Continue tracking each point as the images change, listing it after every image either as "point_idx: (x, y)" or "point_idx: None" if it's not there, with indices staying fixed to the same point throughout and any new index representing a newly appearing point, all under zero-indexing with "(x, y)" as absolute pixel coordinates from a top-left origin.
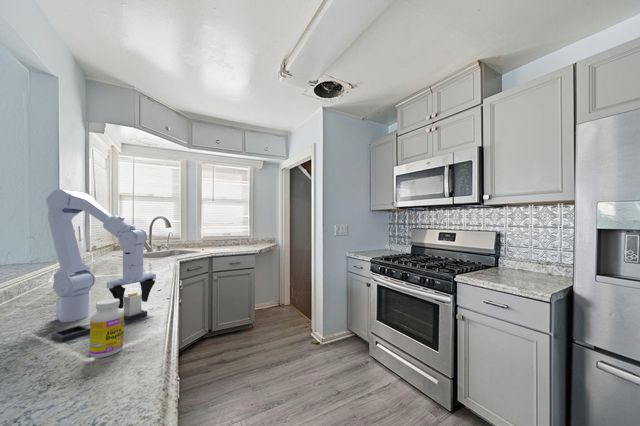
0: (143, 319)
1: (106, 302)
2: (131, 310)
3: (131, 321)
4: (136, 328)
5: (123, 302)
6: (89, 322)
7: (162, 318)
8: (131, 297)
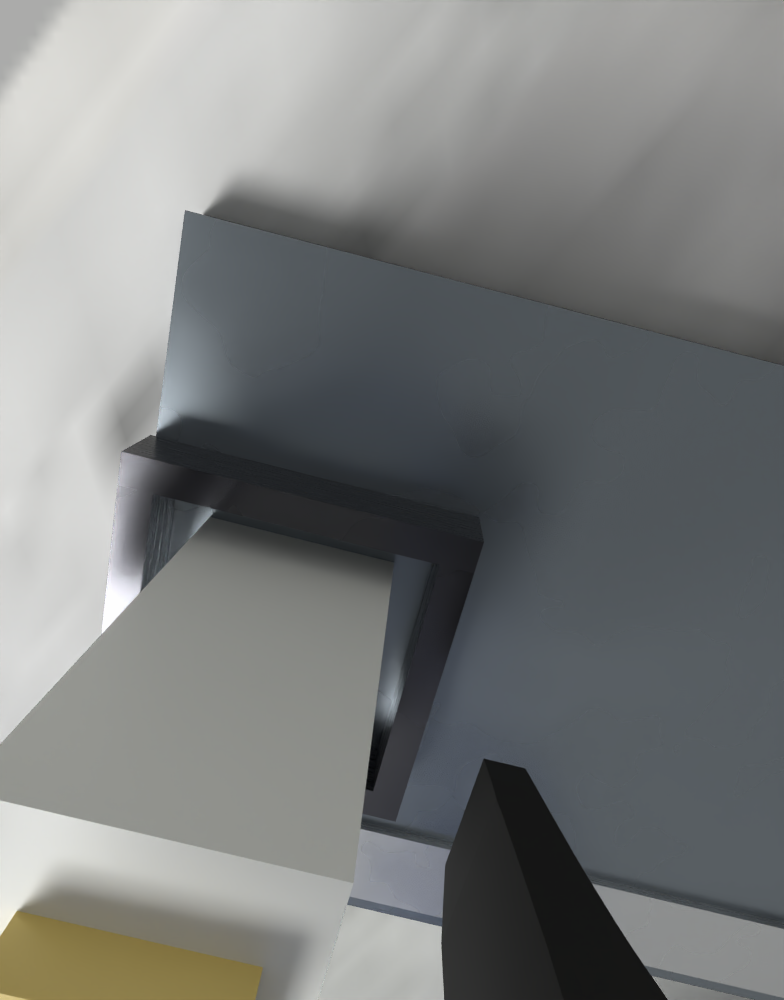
0: (363, 288)
1: None
2: (351, 625)
3: (486, 430)
4: (652, 134)
5: (515, 853)
6: None
7: (126, 51)
8: (302, 870)
